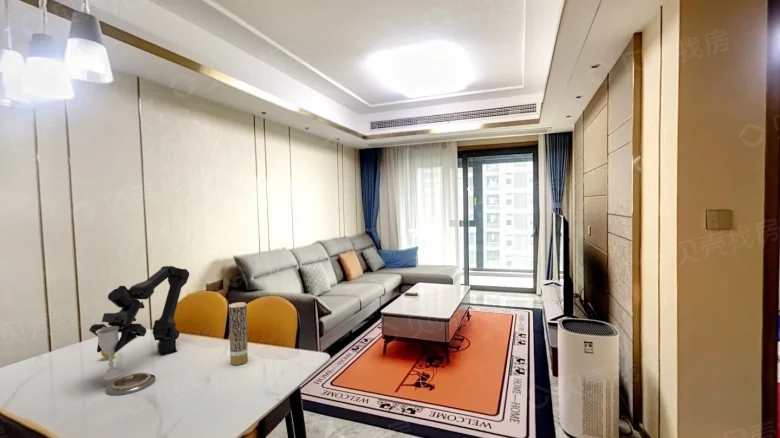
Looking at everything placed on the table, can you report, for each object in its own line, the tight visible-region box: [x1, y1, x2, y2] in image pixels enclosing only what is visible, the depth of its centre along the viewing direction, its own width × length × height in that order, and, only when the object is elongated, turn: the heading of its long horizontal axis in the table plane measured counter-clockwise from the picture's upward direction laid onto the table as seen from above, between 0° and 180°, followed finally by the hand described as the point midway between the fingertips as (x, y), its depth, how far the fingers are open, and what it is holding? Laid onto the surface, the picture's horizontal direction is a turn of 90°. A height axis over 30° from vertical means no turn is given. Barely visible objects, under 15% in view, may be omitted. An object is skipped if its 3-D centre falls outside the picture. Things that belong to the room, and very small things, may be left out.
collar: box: [105, 372, 157, 396], centre depth 131 cm, size 15×15×2 cm
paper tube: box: [228, 301, 249, 366], centre depth 150 cm, size 7×7×25 cm
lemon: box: [100, 350, 117, 359], centre depth 156 cm, size 6×6×8 cm
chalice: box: [96, 325, 122, 380], centre depth 131 cm, size 7×7×18 cm
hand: (106, 351), depth 130 cm, fingers closed on chalice, 6 cm apart
